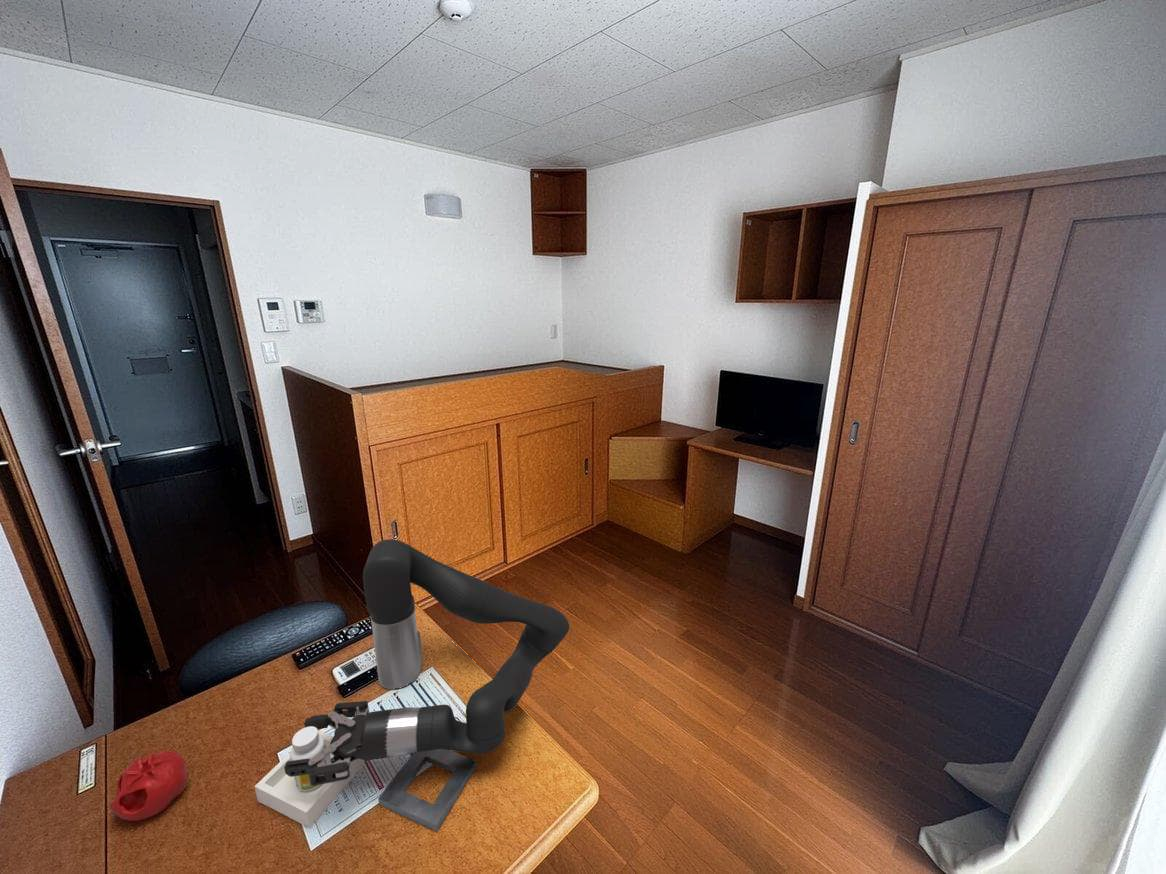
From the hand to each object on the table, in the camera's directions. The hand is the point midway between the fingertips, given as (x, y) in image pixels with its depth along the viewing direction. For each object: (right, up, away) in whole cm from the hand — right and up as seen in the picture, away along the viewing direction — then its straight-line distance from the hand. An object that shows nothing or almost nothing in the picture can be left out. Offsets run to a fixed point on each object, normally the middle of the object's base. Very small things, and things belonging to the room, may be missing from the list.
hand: (296, 745), depth 81 cm
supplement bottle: (+2, -8, +3) cm, 8 cm away
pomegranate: (-24, -9, -1) cm, 26 cm away
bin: (+1, -9, +3) cm, 9 cm away
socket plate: (+23, -9, +3) cm, 25 cm away
